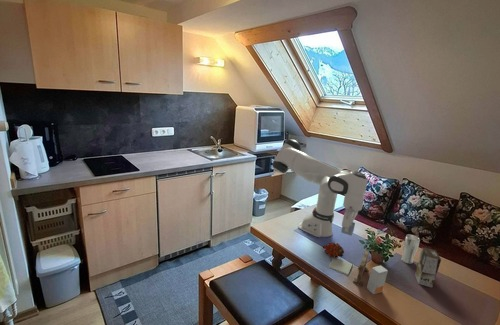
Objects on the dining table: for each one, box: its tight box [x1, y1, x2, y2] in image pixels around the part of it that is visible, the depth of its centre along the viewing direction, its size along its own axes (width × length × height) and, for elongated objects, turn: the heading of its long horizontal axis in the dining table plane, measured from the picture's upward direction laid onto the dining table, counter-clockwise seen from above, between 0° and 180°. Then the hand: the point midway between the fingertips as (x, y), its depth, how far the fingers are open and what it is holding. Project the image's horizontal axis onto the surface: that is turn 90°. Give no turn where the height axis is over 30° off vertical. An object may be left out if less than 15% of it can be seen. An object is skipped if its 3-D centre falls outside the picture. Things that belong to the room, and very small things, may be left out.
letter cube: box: [341, 221, 356, 236], centre depth 135 cm, size 5×5×5 cm
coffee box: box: [414, 247, 442, 288], centre depth 134 cm, size 9×6×16 cm
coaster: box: [328, 256, 353, 276], centre depth 142 cm, size 10×10×1 cm
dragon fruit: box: [322, 241, 345, 259], centre depth 149 cm, size 8×8×12 cm
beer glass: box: [400, 234, 421, 265], centre depth 150 cm, size 7×7×15 cm
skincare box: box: [366, 265, 389, 295], centre depth 125 cm, size 6×4×12 cm
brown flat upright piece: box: [353, 248, 370, 287], centre depth 134 cm, size 16×4×11 cm, turn 148°
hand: (348, 228), depth 136 cm, fingers closed on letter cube, 5 cm apart
